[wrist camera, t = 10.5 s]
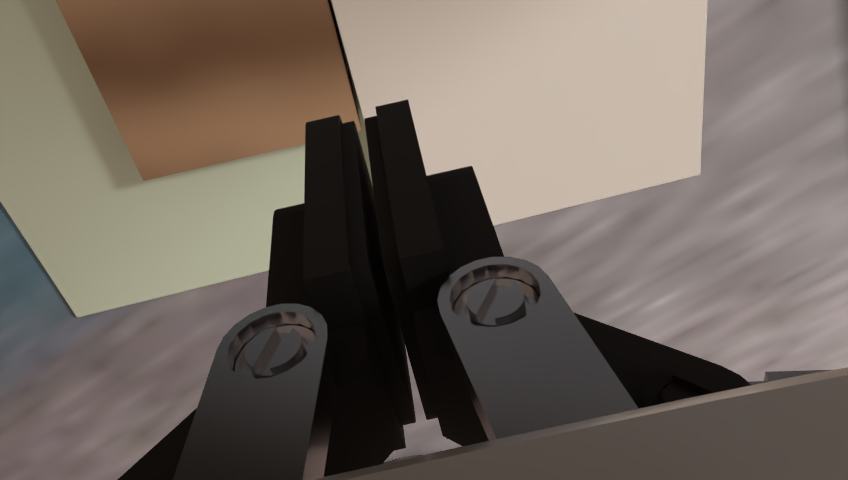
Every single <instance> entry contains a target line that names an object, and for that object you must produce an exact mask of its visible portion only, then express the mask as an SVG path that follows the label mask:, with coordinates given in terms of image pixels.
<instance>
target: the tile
mask: <svg viewBox="0 0 848 480" xmlns="http://www.w3.org/2000/svg"><path fill="white" fill-rule="evenodd" d="M56 2H57V4H58V6H59V9H60V11H61V13H62V15H63V17H64V19H65V21H66V23H67V25H68V27H69V29H70V31H71V33H72V35H73V37H74V39H75V41H76V43H77V45H78V48H79V50H80V52H81V54H82V56H83V58H84V60H85V62H86V64H87V66H88V68H89V70H90V72H91V74H92V76H93V78H94V80H95V82H96V85H97V87H98V89H99V91H100V93H101V95H102V97H103V99H104V101H105V103H106V105H107V107H108V109H109V111H110V113H111V115H112V117H113V119H114V121H115V124H116V126H117V128H118V130H119V132H120V134H121V136H122V138H123V140H124V142H125V144H126V146H127V148H128V150H129V152H130V154H131V156H132V158H133V161H134V163H135V165H136V167H137V169H138V171H139V173H140V175H141V177H142V179H143V181H146V180H150V179H155V178H159V177H163V176H168V175H172V174H176V173H181V172H185V171H189V170H194V169H198V168H202V167H207V166H211V165H215V164H220V163H224V162H228V161H233V160H237V159H241V158H246V157H250V156H254V155H259V154H263V153H267V152H272V151H276V150H280V149H285V148H289V147H293V146H298V145H302V144H305V125H306V122H310V121H314V120H319V119H323V118H328V117H332V116H336V115H339V116H340V117H341V120H342V123H346V122H351V121H354V122H355V124H356V128H357V131H362V130H361V124H360V118H359V112H358V107H357V103H356V99H355V95H354V91H353V88H352V84H351V80H350V76H349V72H348V68H347V64H346V60H345V57H344V53H343V49H342V45H341V41H340V37H339V33H338V29H337V25H336V22H335V18H334V14H333V10H332V6H331V2H330V0H56Z"/></svg>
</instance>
